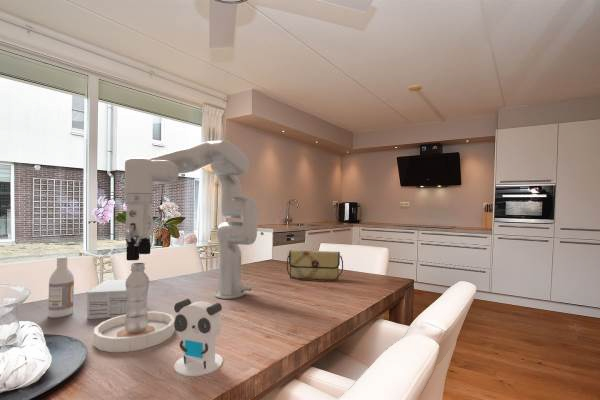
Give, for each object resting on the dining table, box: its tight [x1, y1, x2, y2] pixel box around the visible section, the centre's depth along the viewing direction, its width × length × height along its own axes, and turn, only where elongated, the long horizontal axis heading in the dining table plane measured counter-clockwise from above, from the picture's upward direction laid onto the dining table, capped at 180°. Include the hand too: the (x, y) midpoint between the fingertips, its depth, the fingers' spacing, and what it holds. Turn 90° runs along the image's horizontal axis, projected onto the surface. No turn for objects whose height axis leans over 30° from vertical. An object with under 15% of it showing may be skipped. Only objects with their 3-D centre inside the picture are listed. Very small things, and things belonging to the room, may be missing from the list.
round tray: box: [93, 311, 176, 353], centre depth 94 cm, size 21×21×4 cm
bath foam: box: [47, 256, 75, 319], centre depth 111 cm, size 7×7×20 cm
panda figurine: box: [173, 298, 223, 377], centre depth 78 cm, size 12×11×15 cm
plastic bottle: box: [124, 262, 150, 333], centre depth 94 cm, size 6×7×20 cm
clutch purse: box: [286, 249, 344, 283], centre depth 167 cm, size 30×7×15 cm, turn 84°
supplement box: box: [86, 278, 127, 320], centre depth 117 cm, size 17×13×9 cm
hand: (139, 256), depth 95 cm, fingers open, 9 cm apart
